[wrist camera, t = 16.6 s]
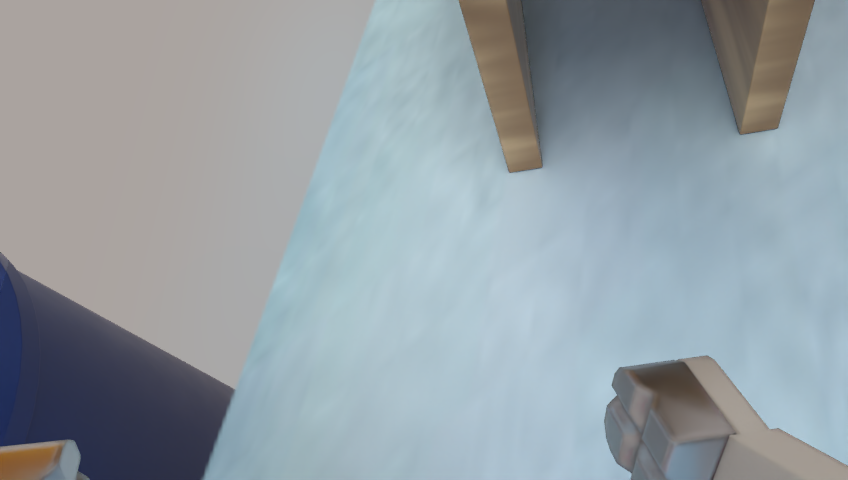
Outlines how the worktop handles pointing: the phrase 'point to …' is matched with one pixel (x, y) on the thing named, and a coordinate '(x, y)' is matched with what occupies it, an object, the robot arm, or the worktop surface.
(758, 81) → the birch stand
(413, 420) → the worktop surface
